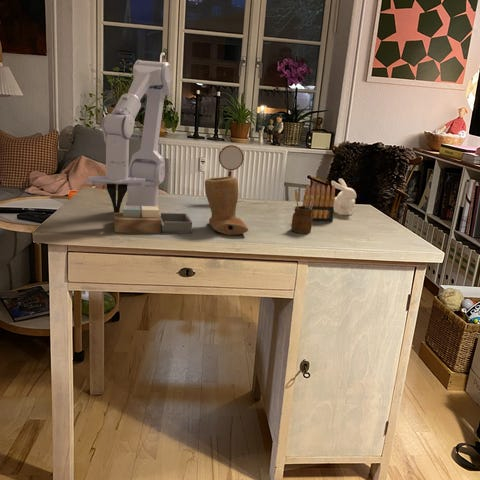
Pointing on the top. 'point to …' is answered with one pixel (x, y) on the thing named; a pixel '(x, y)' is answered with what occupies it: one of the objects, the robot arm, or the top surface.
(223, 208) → the tan suede boot
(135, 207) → the tile slate
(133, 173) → the robot arm
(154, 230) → the walnut plate
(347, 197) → the rabbit
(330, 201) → the ammunition clip
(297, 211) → the utensil holder
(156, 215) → the tile cream
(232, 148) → the magnifying glass
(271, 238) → the top surface
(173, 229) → the bin
